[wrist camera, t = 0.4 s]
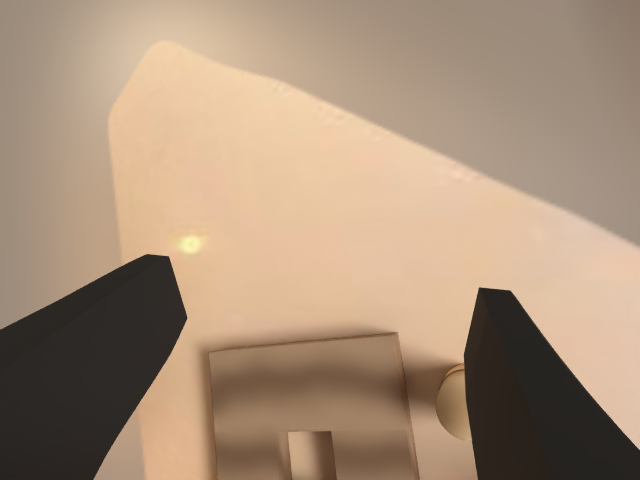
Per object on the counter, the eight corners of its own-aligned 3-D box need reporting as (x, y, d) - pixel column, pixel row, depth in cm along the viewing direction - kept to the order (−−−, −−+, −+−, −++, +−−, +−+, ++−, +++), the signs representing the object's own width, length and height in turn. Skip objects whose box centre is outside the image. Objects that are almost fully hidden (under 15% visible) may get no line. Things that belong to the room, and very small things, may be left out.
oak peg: (500, 415, 32) (505, 442, 26) (446, 416, 33) (440, 442, 28) (490, 361, 32) (493, 376, 27) (438, 365, 34) (430, 379, 28)
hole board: (436, 590, 32) (433, 614, 30) (240, 567, 38) (225, 584, 36) (397, 332, 35) (392, 335, 33) (223, 349, 41) (208, 352, 39)
